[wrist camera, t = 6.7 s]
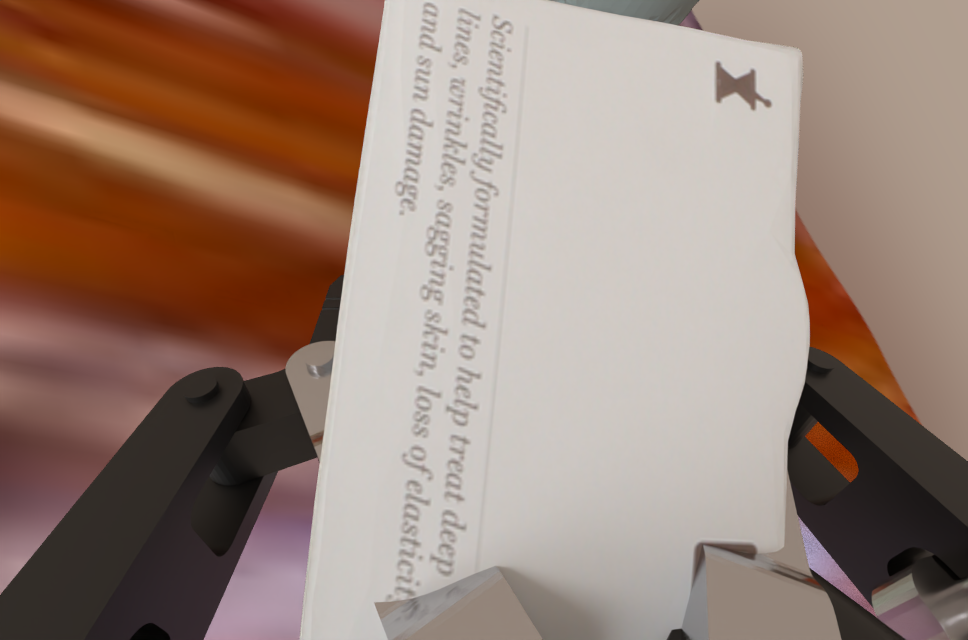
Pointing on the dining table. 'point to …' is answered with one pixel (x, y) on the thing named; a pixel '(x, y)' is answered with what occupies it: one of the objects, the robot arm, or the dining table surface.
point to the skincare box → (561, 318)
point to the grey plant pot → (640, 8)
